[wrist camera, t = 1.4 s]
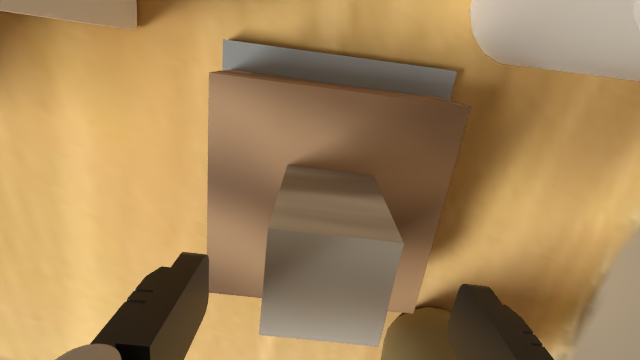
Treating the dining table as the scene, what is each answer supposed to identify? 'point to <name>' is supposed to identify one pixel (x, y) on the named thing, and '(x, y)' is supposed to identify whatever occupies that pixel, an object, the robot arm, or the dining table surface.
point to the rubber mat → (337, 69)
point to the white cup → (561, 35)
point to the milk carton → (79, 11)
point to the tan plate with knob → (325, 199)
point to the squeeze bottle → (419, 336)
